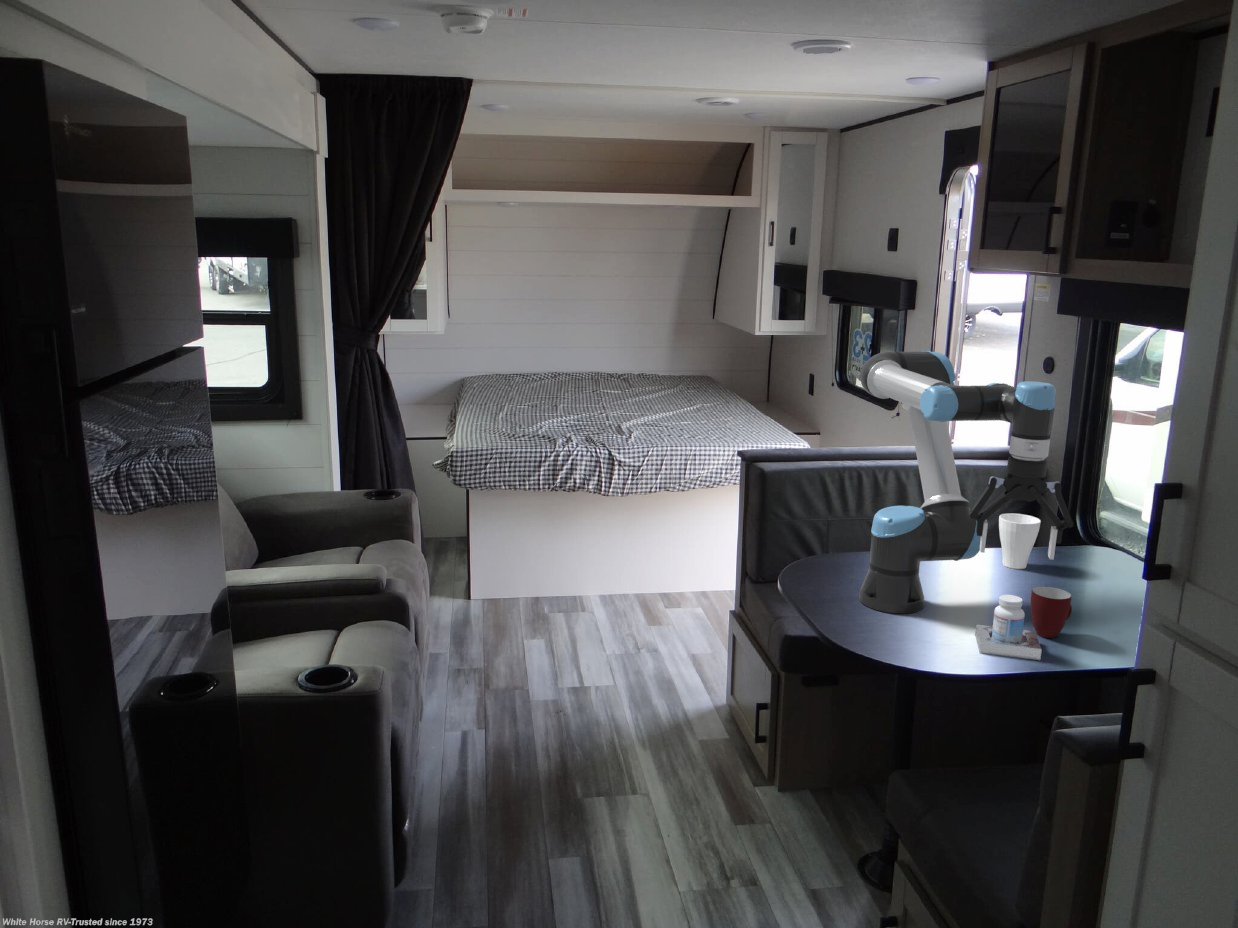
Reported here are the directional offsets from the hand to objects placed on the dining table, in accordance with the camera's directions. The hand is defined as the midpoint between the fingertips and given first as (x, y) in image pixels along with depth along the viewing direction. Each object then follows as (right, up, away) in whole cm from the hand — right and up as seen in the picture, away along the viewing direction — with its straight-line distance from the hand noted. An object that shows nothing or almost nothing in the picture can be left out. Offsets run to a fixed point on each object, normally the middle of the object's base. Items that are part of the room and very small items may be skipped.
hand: (1015, 554), depth 197 cm
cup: (+24, -9, +58) cm, 63 cm away
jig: (-1, -20, +3) cm, 21 cm away
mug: (+12, -19, +11) cm, 26 cm away
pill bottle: (-1, -21, +4) cm, 21 cm away
